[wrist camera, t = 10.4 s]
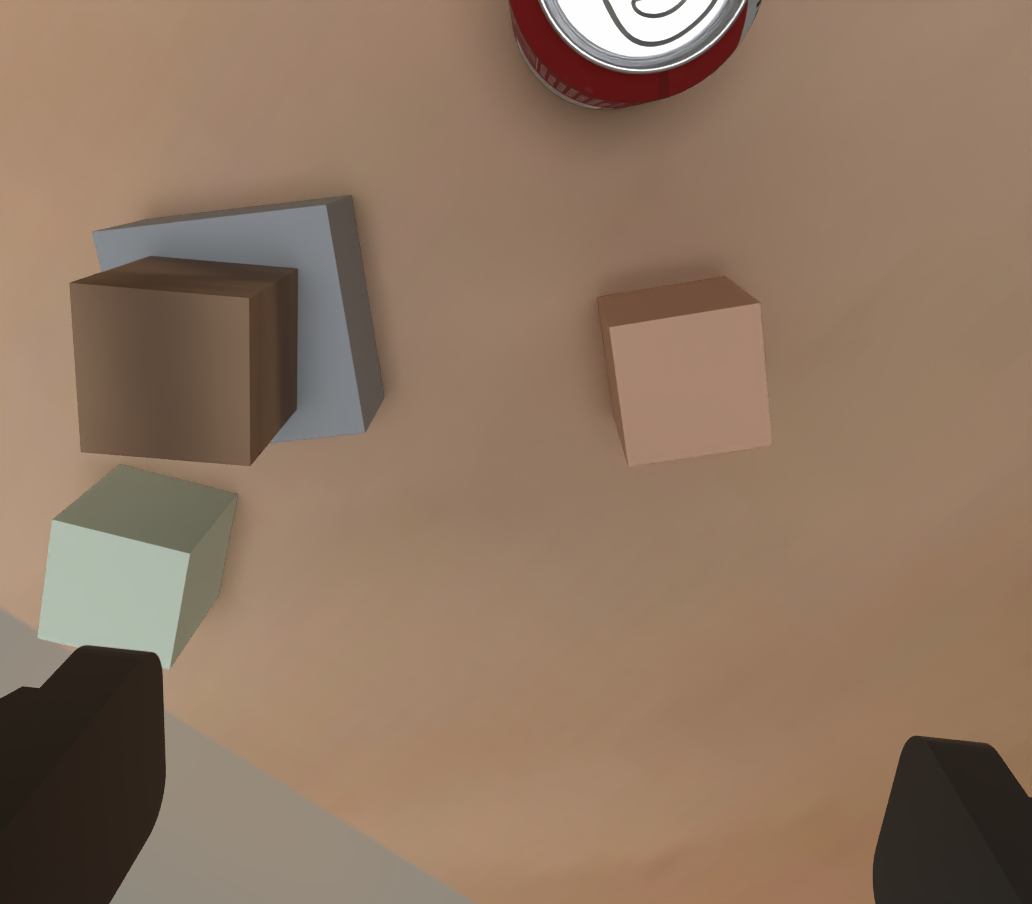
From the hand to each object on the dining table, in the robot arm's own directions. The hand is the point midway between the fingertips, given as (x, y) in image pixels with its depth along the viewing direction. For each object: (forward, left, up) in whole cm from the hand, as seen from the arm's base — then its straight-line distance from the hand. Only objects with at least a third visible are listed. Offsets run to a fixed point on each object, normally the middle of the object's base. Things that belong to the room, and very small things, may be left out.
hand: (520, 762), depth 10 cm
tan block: (-6, +1, -29) cm, 29 cm away
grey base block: (+10, +1, -29) cm, 31 cm away
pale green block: (+14, +11, -29) cm, 34 cm away
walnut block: (+10, +1, -24) cm, 26 cm away
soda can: (-2, -11, -29) cm, 31 cm away
